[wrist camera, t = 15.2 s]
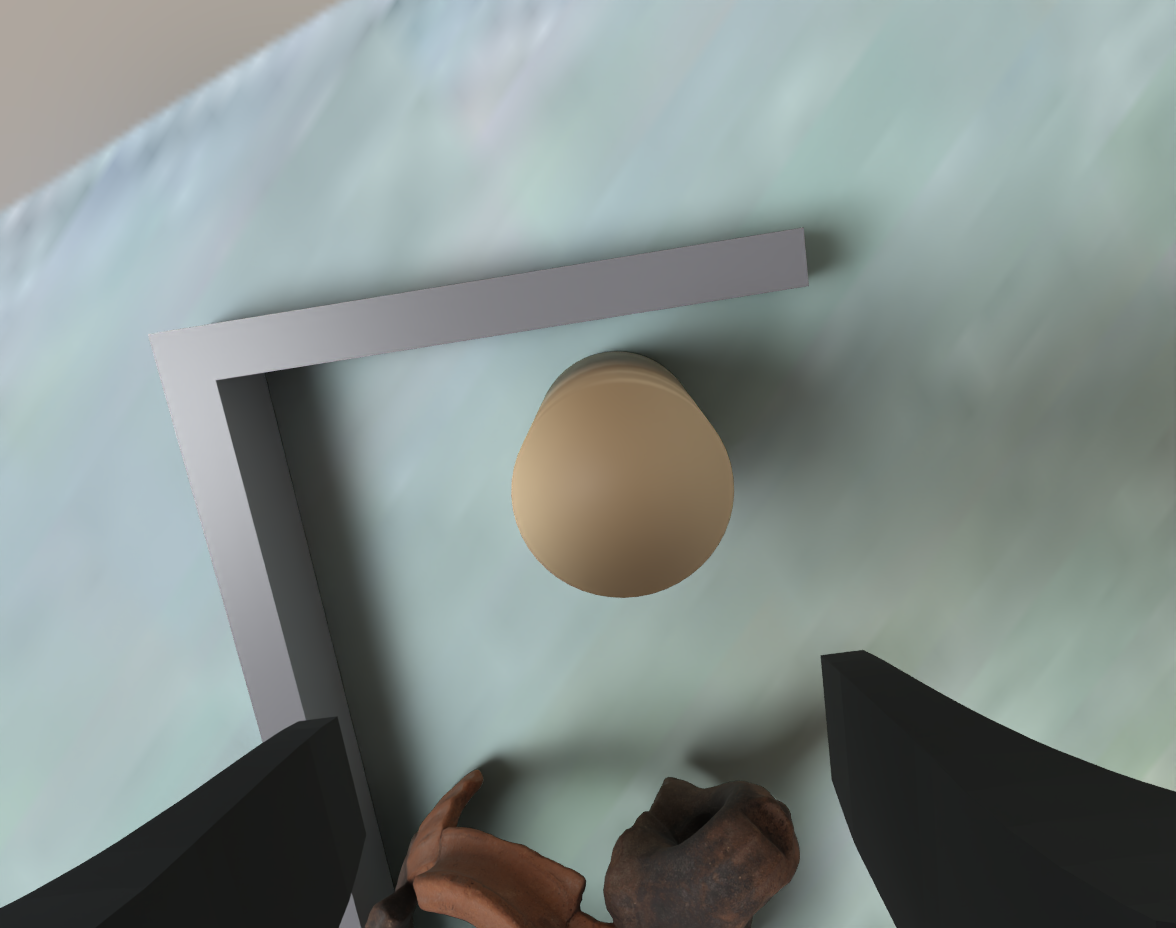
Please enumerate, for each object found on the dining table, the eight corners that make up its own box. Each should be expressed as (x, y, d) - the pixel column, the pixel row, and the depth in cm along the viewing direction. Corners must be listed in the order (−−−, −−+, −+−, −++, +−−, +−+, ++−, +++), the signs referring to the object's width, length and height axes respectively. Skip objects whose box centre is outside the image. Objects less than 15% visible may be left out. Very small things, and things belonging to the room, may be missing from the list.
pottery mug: (658, 1038, 25) (498, 1305, 18) (475, 795, 28) (277, 944, 21) (939, 852, 20) (866, 1126, 13) (678, 575, 23) (503, 676, 16)
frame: (777, 233, 19) (803, 227, 16) (852, 995, 24) (881, 1076, 21) (204, 326, 20) (147, 333, 17) (394, 1046, 25) (371, 1130, 22)
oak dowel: (684, 339, 19) (720, 366, 14) (704, 494, 20) (746, 581, 15) (525, 364, 20) (493, 401, 14) (551, 516, 21) (532, 611, 15)
